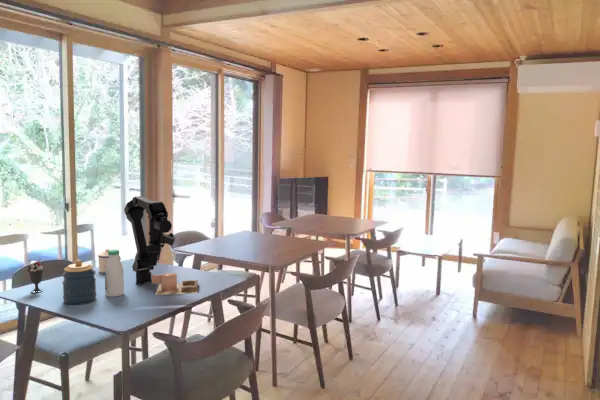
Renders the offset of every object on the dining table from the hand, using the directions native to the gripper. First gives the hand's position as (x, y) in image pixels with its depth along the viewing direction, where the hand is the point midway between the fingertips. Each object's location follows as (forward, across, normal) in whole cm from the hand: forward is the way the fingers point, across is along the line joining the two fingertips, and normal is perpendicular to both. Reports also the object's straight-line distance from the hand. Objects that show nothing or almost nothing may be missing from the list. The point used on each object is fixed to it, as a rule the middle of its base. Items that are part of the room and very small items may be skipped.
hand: (156, 262), depth 219 cm
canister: (+13, -10, +30) cm, 35 cm away
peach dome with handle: (+12, -2, -4) cm, 13 cm away
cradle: (+13, -2, -9) cm, 16 cm away
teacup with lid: (+13, +38, +28) cm, 49 cm away
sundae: (+13, +4, +53) cm, 55 cm away
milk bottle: (+13, -4, +18) cm, 22 cm away
